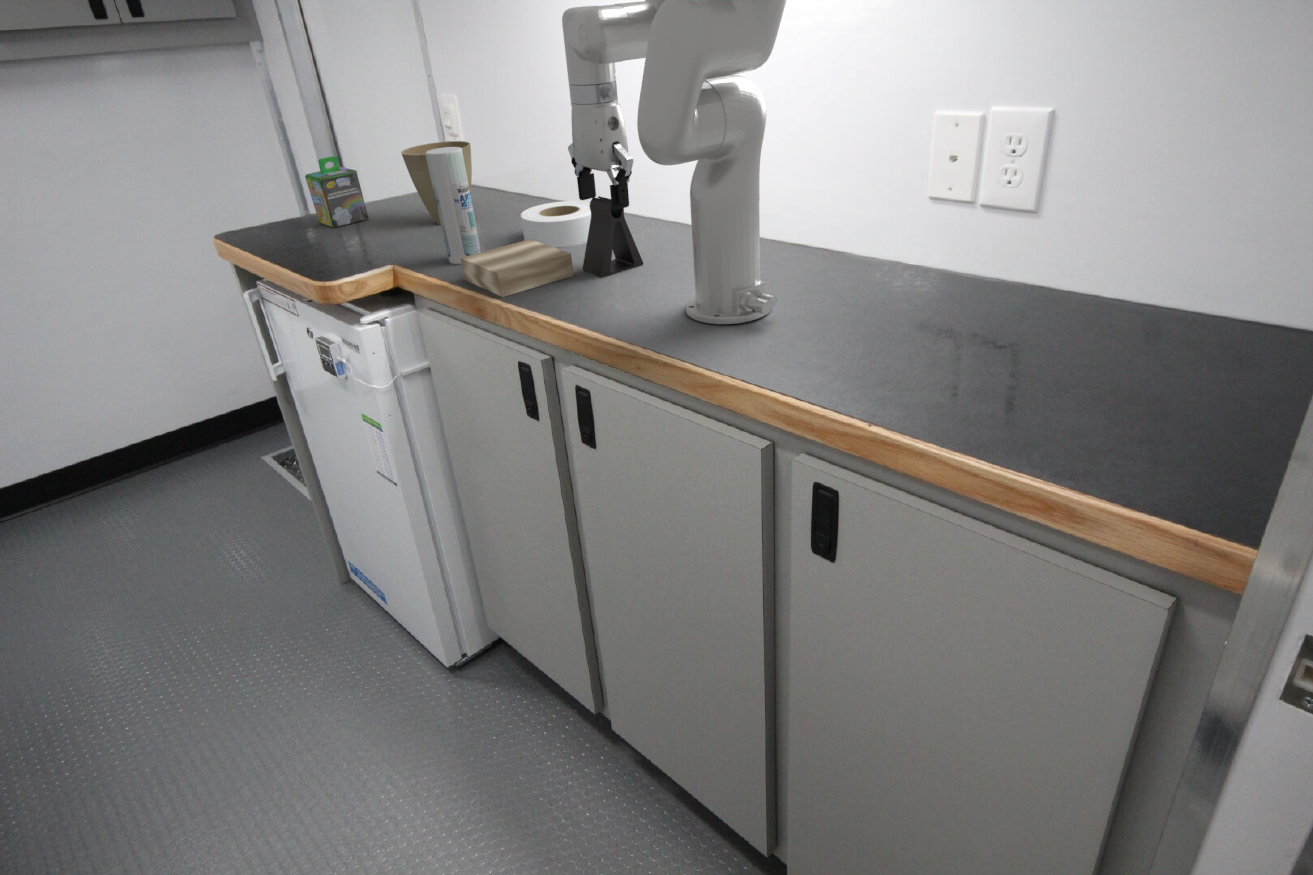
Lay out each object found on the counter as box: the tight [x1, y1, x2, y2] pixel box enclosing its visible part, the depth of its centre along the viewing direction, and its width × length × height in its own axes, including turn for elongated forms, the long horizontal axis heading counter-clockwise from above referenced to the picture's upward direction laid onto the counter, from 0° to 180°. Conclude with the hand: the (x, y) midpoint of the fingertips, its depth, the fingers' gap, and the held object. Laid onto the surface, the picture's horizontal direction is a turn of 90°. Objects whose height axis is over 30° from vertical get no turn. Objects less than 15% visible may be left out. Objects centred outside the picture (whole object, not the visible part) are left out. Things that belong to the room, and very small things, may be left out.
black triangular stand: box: [582, 195, 644, 278], centre depth 136 cm, size 9×6×12 cm, turn 127°
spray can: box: [425, 147, 482, 265], centre depth 147 cm, size 6×6×20 cm
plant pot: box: [400, 140, 473, 225], centre depth 176 cm, size 15×15×16 cm
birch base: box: [461, 239, 575, 298], centre depth 138 cm, size 14×14×4 cm
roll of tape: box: [520, 200, 591, 249], centre depth 159 cm, size 16×16×6 cm
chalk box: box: [304, 155, 369, 229], centre depth 184 cm, size 9×9×15 cm
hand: (603, 203), depth 134 cm, fingers open, 9 cm apart
